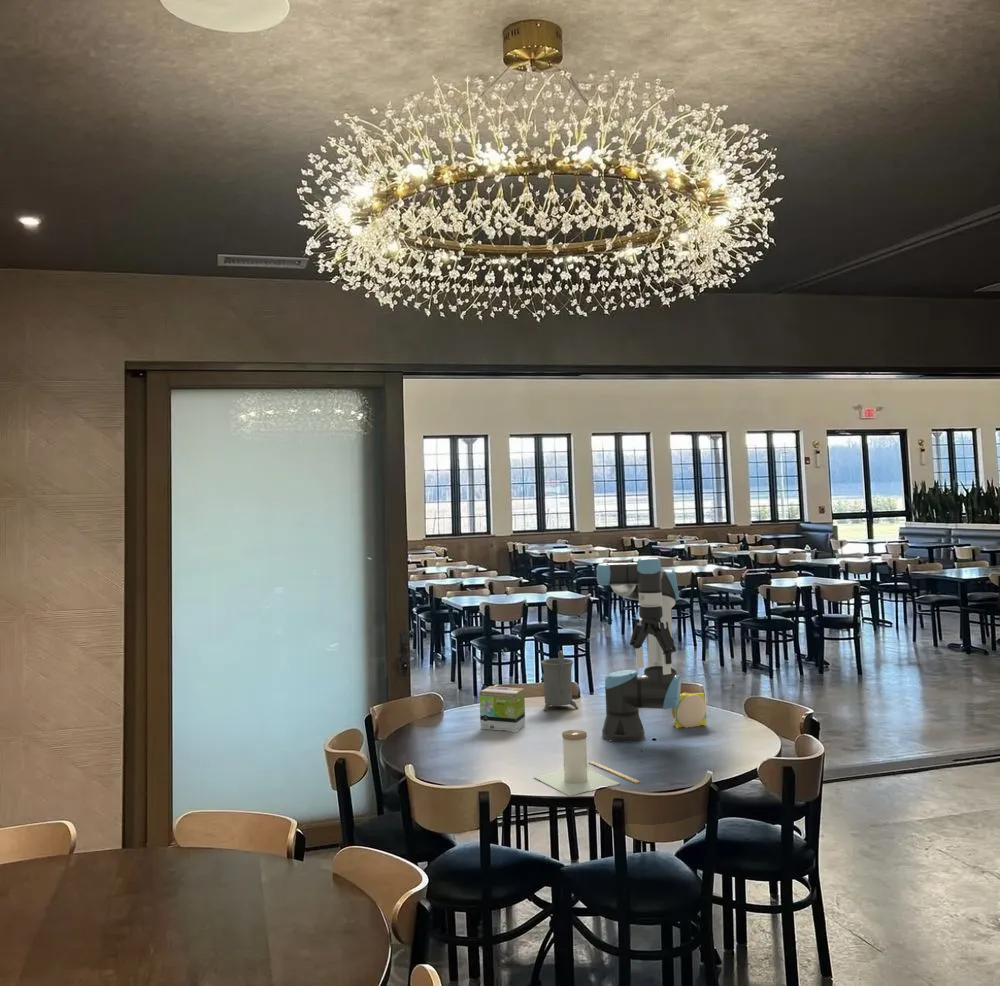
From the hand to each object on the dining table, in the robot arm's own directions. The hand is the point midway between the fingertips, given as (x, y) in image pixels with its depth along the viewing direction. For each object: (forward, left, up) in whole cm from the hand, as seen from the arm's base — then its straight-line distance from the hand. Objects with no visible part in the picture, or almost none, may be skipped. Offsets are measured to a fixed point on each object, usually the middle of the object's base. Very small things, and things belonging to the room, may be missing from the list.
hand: (653, 671), depth 259 cm
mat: (+2, -33, -29) cm, 44 cm away
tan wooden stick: (+2, -19, -29) cm, 34 cm away
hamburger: (-26, +37, -29) cm, 54 cm away
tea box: (-65, -21, -29) cm, 74 cm away
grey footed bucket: (-78, +13, -29) cm, 84 cm away
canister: (+2, -33, -28) cm, 44 cm away
